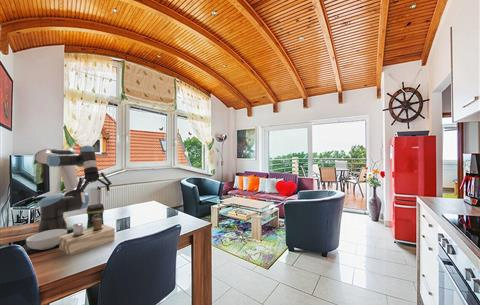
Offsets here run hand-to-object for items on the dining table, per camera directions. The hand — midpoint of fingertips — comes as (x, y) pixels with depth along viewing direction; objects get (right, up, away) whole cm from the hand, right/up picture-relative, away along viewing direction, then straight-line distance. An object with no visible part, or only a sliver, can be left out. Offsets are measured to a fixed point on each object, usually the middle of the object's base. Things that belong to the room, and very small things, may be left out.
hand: (96, 199), depth 133 cm
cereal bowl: (-16, -23, -16) cm, 33 cm away
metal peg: (+3, -17, -18) cm, 25 cm away
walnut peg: (+8, -17, -9) cm, 21 cm away
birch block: (+5, -23, -14) cm, 27 cm away
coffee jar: (-3, -23, +4) cm, 24 cm away
